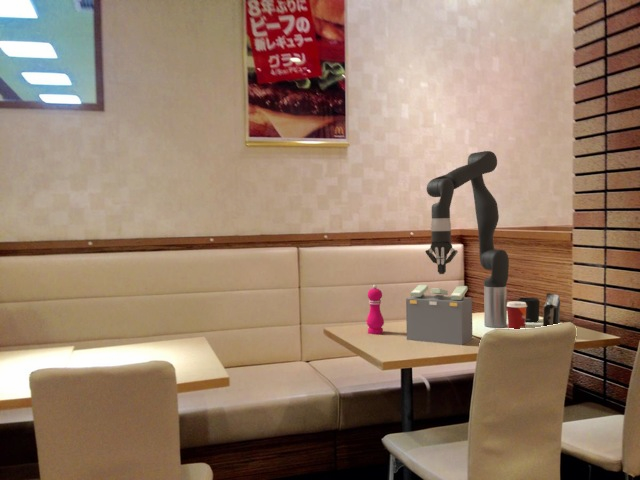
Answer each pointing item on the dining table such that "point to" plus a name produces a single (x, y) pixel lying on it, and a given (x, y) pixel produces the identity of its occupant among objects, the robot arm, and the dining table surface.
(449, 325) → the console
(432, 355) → the dining table surface
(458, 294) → the rocker
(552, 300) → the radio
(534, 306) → the pen holder
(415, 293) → the block
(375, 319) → the pepper mill
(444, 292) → the block
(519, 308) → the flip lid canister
